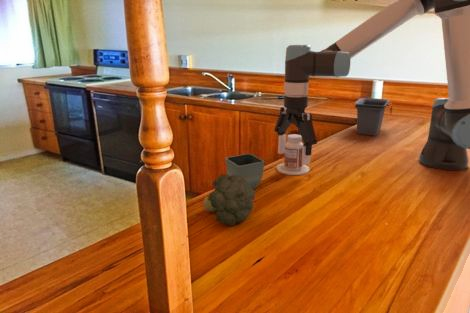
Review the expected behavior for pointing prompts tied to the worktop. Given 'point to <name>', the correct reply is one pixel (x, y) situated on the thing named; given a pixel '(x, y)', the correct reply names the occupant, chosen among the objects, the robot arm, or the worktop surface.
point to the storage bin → (370, 115)
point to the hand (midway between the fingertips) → (293, 158)
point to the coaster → (284, 170)
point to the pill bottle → (293, 152)
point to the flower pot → (246, 168)
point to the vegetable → (230, 199)
